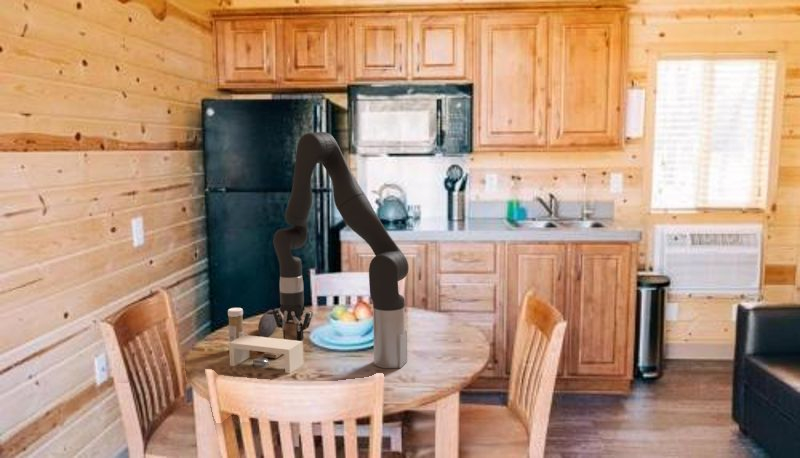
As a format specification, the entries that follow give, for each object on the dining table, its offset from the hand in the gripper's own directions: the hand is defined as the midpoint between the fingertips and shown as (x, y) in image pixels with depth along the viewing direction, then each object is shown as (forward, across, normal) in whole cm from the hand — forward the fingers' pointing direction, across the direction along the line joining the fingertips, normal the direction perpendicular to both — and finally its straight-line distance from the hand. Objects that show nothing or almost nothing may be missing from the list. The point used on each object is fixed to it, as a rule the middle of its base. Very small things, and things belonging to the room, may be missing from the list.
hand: (293, 340), depth 204 cm
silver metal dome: (+1, 0, +20) cm, 20 cm away
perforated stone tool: (+1, +14, -7) cm, 16 cm away
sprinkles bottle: (+1, +14, +11) cm, 18 cm away
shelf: (+1, -2, +20) cm, 20 cm away
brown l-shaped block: (+1, 0, +6) cm, 6 cm away
